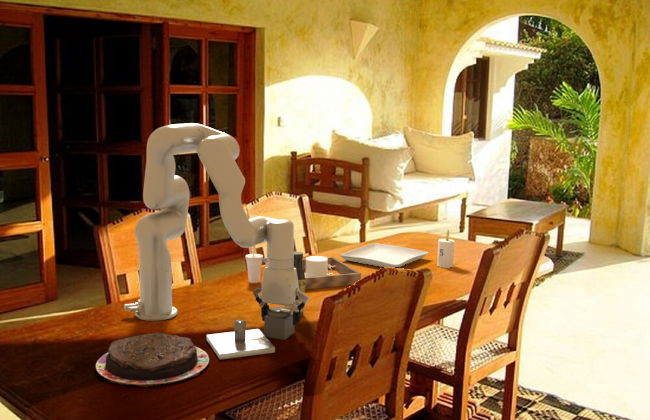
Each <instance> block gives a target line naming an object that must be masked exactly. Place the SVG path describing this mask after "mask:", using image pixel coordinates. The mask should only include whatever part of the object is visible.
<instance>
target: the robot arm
mask: <svg viewBox="0 0 650 420" xmlns="http://www.w3.org/2000/svg"><path fill="white" fill-rule="evenodd" d="M240 150H241V149H240V145H239V143H238V141H237V140H236V139H235V138H234V137H233V136H232V135H230V134H228V133H225V132H224V131H223V132H222V131H219V130H217V129H214V128H212V127H209V126H206V125H203V124H200V123H195V122H194V123H193V122H190V123H175V124H167V125H164V126H161V127H158V128H156V129H155V130H154V131H152V133H151V134H150V135H149V137H148V139H147V144H146V163H145V171H144V182H143V183H144V184H143V192H142V194H143V195H142V199H143V203H144V204H145V206H146V207H147V208H148V209H150V210H153V211H155V212H151V213H147V214H145V215H144V216H142V217H141V218H140V219H138V220H137V222H136V224H135V225H134V226H135V227H134V236H135V239H136V244H137V245H136V246H137V251H138V269H139V270H138V272H139V299H137V302H136V301H135V302H134V303H124V305H123V306H124V311H129V312H134V316H135V317H136V318H137V319H139V320H143V321H148V322H150V321H152V322H157V321H165V320H169V319H172V318H174V317H176V316H177V314H178V309H177V308H176V307H175V306H173V287H172V286H173V283H172V280H173V279H172V276H173V275H172V274H173V273H172V272H173V271H172V255H171V252H170V251H171V250H170V249H169V247H168V244H167V242H169V241H172V240H175V239H177V238H179V237H181V236H182V235H183V234H184V232H185V231H186V226H187V222H188V211H189V203H190V188H189V185H188V182H187V181H186V179H184V178H183V177H181V176H180V175H176V174H175V173H176V161H175V156H174V155H177V154H186V153H187V154H188V153H197V155H198V158H199V160H200V162H201V164H202V165H203V167H204V169H205V171H206V173H207V174H208V177H209V178H210V180H211V182H212V183H213V186H214V188H215V190H216V191H217V193H218V204H219V212H220V217H221V220H222V223H223V225H224V227H225V228H226V230H227V232H228V234H229V236H230V237H231V239H232V240H233V242H234V243H235V244H236V245H237V246H240V247H241V248H246V249H249V248H253V246H254V247H255V246H257V245H259V244H260V245H261V244H262V243H266V257H263V259H262V263H265V264H266V267H264V268H263V273H262V278H261V286H260V287H258V288H256V289H254V290H252V294H253V296H254V298H255V301H256V302H257V303H258V305H259V306H258V307H260V314H261V321H262V322H264V316H265V315H267V314H268V309H270V305H271V304H272V305H273V304H274V305H280V306H284V305H286V306H290V305H291V306H292V308H293V309H294V312H293V325H294V327H295V326H297V325H298V324H300V322H301V320H302V316H301V309H302V308H303V307H304V308H305V307H306V306H307V303H309V300H310V296H309V295H307V294H306V292H305V293H303V292H302V291H300V290H299V284H298V276H297V272H296V268H294V252H295V248H294V247H295V243H294V242H295V240H294V239H295V229H294V228H295V227H294V226H295V225H294V223H293V221H291V220H290V219H287V218H286V219H284V218H280V219H279V218H276V219H275V218H272V217H267V216H264V215H258V216H253V217H251V218H249V217H248V215H247V214H246V212H245V209H244V207H243V204H242V203H243V202H242V193H243V190H244V187H245V184H246V178H245V176H244V175H243V172H241V169H240V167H239V166H238V163H237V162H236V160H237V158H238V157H239V155H240ZM157 210H159V211H157ZM299 297H300V298H302V303H301V304H300V303H299V301H298V300H299ZM269 304H270V305H269Z"/></svg>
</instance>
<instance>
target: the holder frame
mask: <svg viewBox="0 0 650 420" xmlns="http://www.w3.org/2000/svg"><path fill="white" fill-rule="evenodd" d="M325 257H326V258H328V265H331V266H335V267H332V268H331V269H333V270H334V269H335V271H336V270H337V271H336V272H338V273H339V272H340V274H331V275H327V276H317V277H306V278H305V290H313V289H322V288H323V289H325V288H333V287H334V288H335V287H336V288H337V287H345V286H353V285H352V284H354V283H355V282H357V281H358V280H360V279H361V280H362V273H361V272H359V271H358V270H356V269H355V268H352V267H351V266H349V265H348V264H345V263H344V262H342V261H340V260H339V259H337V258H336V257H333V256H325ZM302 268H303V270H304V271H306V258H302Z"/></svg>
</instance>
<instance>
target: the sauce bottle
mask: <svg viewBox="0 0 650 420" xmlns="http://www.w3.org/2000/svg"><path fill="white" fill-rule="evenodd" d="M302 259H304V252H302V251H294V268H296V272H297V276H298V284H299V290H300V291H302V292H303V293H305V294H306V289H305V273H306V272H305V270H303V268H302ZM298 301H299V303H300V304H301V303H302V298H300V297H299V300H298ZM283 307H287V308H290V309H291V310H292V313H293V312H294V309H293V308H292V306H291V305H290V306H286V305H283ZM304 311H305V306H304V307H303V308H302V309H301V317H303V315H304Z"/></svg>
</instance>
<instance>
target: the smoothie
mask: <svg viewBox="0 0 650 420" xmlns="http://www.w3.org/2000/svg"><path fill="white" fill-rule="evenodd" d="M244 258H245V260H246V268H247V269H246V270H247V277H248V283H250V284H259V283H260V278H261V271H262V263H263V258H264V255H263V254H260V253H255V246H252V253H249V254H245V257H244Z"/></svg>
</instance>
